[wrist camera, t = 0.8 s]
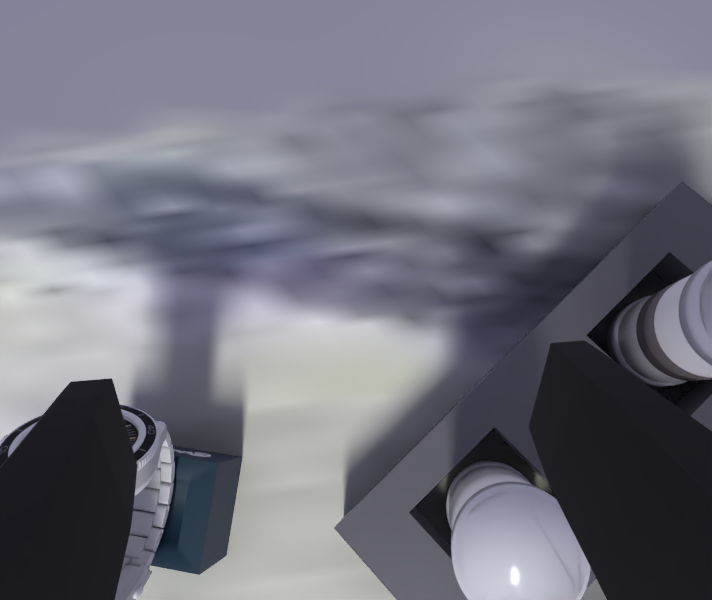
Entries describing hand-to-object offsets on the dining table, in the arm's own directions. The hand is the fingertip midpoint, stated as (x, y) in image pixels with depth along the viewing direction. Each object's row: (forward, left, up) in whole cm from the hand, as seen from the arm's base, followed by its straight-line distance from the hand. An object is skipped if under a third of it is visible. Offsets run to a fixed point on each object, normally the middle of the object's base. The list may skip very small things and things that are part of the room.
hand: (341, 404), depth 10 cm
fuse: (-6, 0, -17) cm, 18 cm away
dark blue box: (+4, +10, -17) cm, 21 cm away
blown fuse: (-6, -10, -17) cm, 21 cm away
